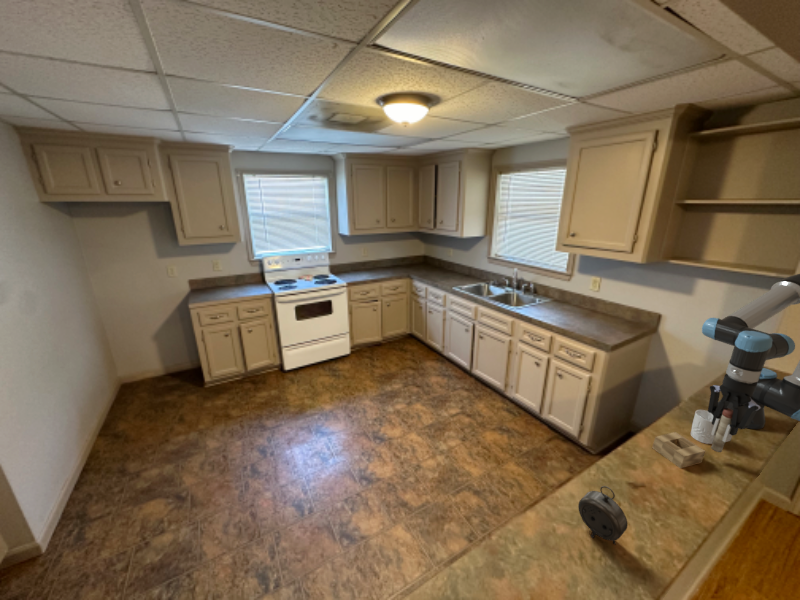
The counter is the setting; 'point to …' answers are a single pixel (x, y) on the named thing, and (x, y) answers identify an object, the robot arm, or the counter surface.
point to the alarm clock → (602, 515)
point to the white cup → (702, 427)
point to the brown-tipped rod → (722, 430)
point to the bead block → (678, 449)
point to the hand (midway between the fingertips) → (720, 437)
